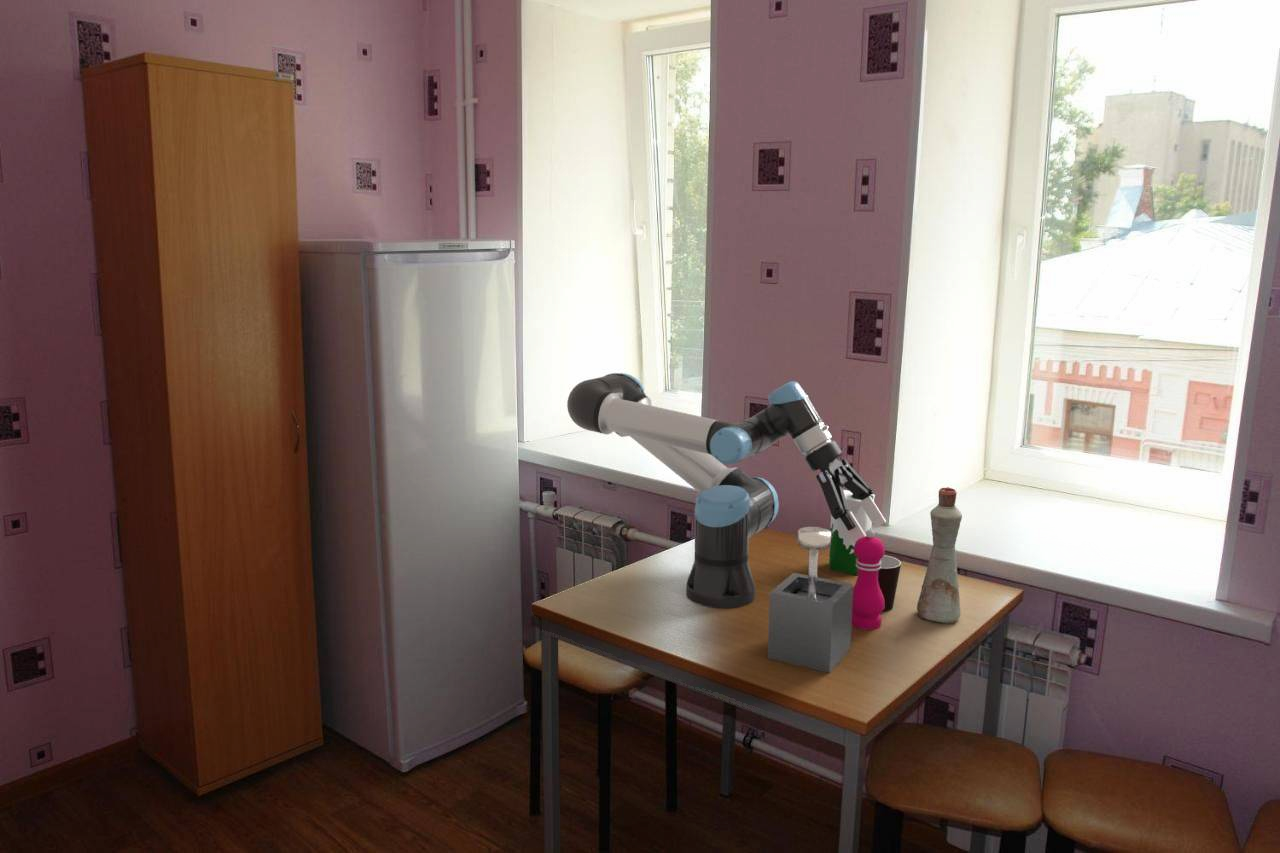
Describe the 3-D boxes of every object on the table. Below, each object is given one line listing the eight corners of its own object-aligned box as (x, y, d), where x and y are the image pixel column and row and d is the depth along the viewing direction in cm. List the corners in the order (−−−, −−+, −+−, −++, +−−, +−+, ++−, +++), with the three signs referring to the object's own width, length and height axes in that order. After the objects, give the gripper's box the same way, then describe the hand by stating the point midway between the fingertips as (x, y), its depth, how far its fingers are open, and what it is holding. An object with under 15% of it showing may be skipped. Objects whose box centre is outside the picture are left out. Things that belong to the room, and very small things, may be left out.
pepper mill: (844, 616, 196) (848, 523, 192) (879, 616, 196) (884, 524, 192) (850, 630, 189) (855, 535, 185) (887, 631, 189) (892, 535, 185)
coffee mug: (899, 615, 196) (902, 569, 194) (857, 611, 198) (859, 566, 196) (896, 594, 208) (898, 551, 206) (856, 591, 209) (858, 548, 207)
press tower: (767, 658, 176) (769, 592, 174) (791, 635, 187) (793, 572, 184) (829, 673, 170) (832, 605, 168) (850, 648, 181) (853, 584, 178)
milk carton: (859, 577, 218) (863, 494, 214) (823, 569, 223) (827, 487, 219) (874, 567, 225) (878, 485, 221) (838, 559, 230) (842, 479, 226)
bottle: (910, 620, 194) (919, 488, 189) (922, 605, 202) (931, 478, 196) (953, 629, 190) (963, 494, 184) (964, 614, 197) (974, 484, 192)
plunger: (783, 609, 175) (786, 534, 172) (798, 595, 182) (801, 522, 179) (824, 618, 171) (828, 541, 168) (838, 604, 178) (842, 529, 175)
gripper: (812, 450, 191) (869, 541, 189) (850, 429, 212) (901, 510, 210) (783, 467, 195) (838, 557, 192) (824, 445, 216) (873, 525, 214)
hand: (871, 533), depth 201 cm, fingers open, 13 cm apart
